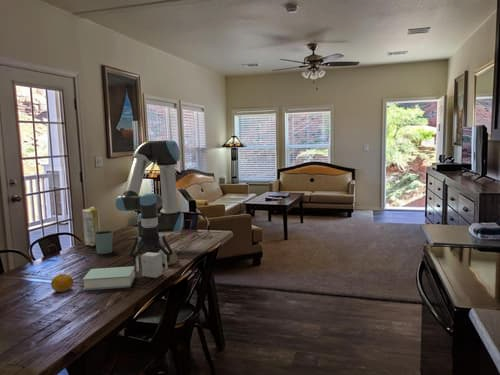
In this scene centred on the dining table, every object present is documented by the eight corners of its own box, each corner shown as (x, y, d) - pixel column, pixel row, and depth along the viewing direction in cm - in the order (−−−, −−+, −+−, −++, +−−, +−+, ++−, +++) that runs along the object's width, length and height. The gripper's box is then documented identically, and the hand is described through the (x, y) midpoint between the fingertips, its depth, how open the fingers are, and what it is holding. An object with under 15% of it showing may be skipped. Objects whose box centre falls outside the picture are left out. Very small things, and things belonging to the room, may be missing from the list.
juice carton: (102, 243, 248) (100, 206, 245) (92, 246, 241) (89, 208, 239) (93, 242, 253) (91, 205, 250) (82, 245, 246) (80, 207, 244)
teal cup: (91, 253, 226) (90, 233, 225) (104, 249, 236) (103, 229, 234) (105, 255, 223) (104, 234, 221) (117, 250, 232) (116, 230, 230)
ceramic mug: (170, 266, 198) (170, 252, 197) (156, 265, 201) (156, 251, 200) (181, 261, 208) (180, 247, 207) (168, 259, 211) (167, 246, 210)
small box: (162, 274, 187) (161, 253, 186) (156, 278, 182) (155, 256, 181) (148, 272, 190) (147, 251, 189) (142, 276, 185) (140, 255, 184)
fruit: (55, 288, 162) (59, 270, 166) (45, 292, 166) (49, 273, 170) (74, 292, 168) (78, 273, 172) (64, 295, 172) (68, 277, 176)
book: (91, 279, 182) (91, 269, 182) (135, 276, 185) (134, 266, 184) (83, 290, 169) (82, 279, 168) (130, 287, 171) (129, 276, 171)
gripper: (121, 229, 178) (123, 273, 180) (176, 226, 181) (178, 270, 184) (124, 225, 185) (126, 268, 188) (176, 223, 189) (178, 265, 191)
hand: (152, 269), depth 186 cm, fingers open, 13 cm apart
